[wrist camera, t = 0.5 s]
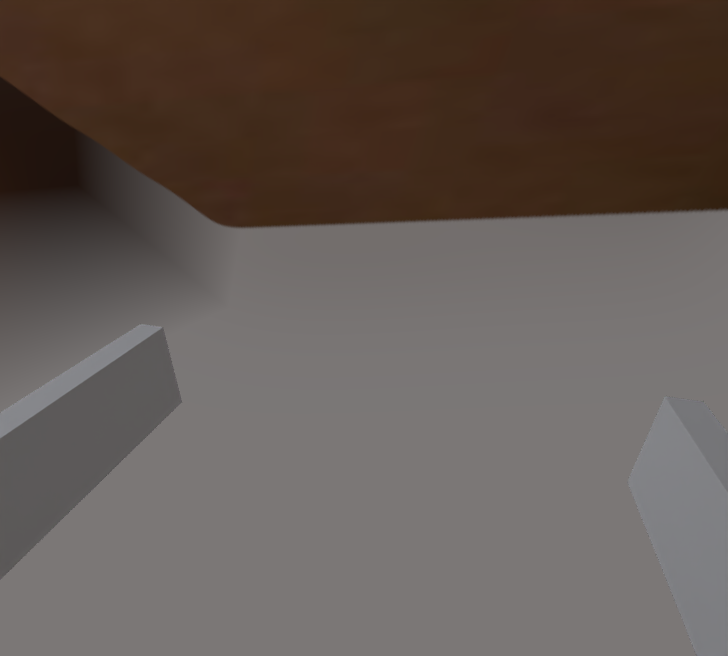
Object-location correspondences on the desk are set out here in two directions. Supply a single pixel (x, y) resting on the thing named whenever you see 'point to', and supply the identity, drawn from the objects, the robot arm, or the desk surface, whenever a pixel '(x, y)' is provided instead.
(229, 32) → the desk surface
